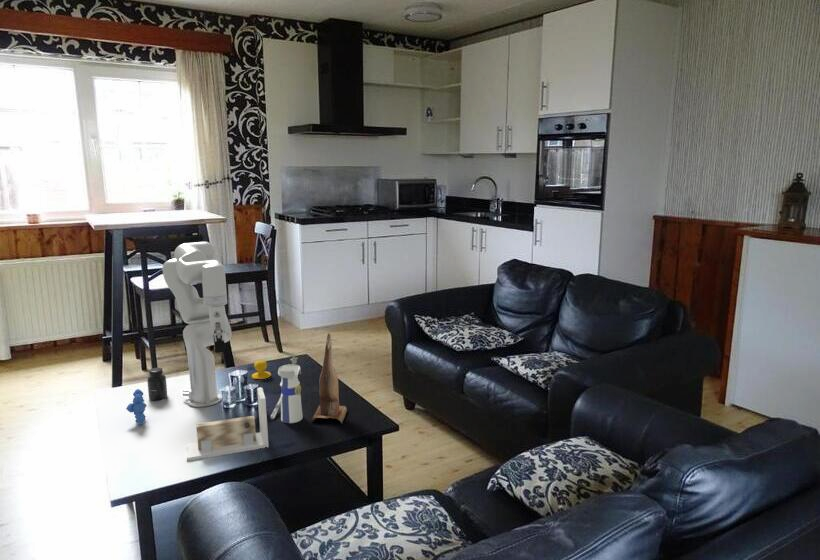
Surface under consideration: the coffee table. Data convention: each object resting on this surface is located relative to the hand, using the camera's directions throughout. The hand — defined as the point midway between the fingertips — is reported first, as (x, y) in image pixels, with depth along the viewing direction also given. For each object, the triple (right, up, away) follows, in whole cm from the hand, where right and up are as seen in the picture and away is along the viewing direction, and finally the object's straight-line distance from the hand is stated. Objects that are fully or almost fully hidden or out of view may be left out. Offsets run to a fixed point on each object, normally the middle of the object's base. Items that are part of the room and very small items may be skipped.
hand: (219, 348), depth 203 cm
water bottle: (+23, -27, +10) cm, 37 cm away
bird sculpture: (+37, -27, +10) cm, 46 cm away
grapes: (-32, -28, +8) cm, 43 cm away
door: (+6, -30, -11) cm, 33 cm away
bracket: (+18, -25, +20) cm, 36 cm away
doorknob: (+2, -19, +51) cm, 55 cm away
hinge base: (+6, -31, -11) cm, 34 cm away
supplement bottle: (-34, -24, +30) cm, 51 cm away
